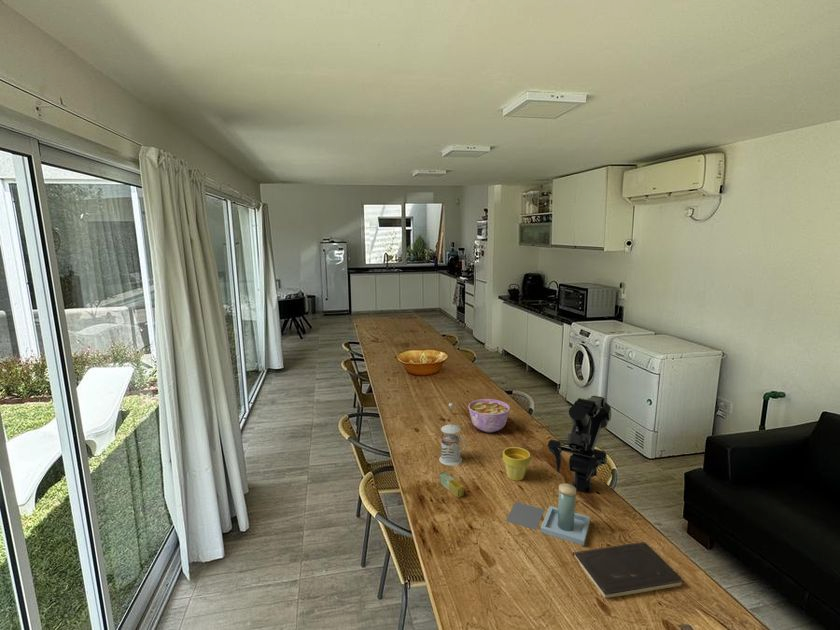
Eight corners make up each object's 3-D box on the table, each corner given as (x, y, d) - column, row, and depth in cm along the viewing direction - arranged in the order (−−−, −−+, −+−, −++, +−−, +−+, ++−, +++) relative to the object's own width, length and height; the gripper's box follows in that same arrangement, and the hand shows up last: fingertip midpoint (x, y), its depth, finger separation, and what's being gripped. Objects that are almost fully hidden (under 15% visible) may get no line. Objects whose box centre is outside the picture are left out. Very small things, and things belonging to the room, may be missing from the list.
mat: (515, 502, 154) (515, 501, 154) (544, 510, 150) (544, 509, 150) (505, 521, 144) (505, 520, 144) (535, 531, 139) (535, 529, 139)
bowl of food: (465, 435, 207) (465, 412, 205) (470, 418, 226) (470, 397, 224) (508, 440, 202) (509, 416, 200) (510, 422, 221) (510, 400, 219)
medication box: (439, 483, 168) (439, 473, 167) (445, 480, 169) (445, 471, 168) (458, 498, 157) (458, 488, 157) (464, 496, 159) (464, 486, 158)
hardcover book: (683, 588, 117) (683, 580, 117) (604, 601, 113) (605, 593, 113) (642, 547, 132) (643, 540, 132) (572, 557, 128) (572, 550, 128)
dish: (549, 511, 149) (549, 505, 149) (589, 522, 143) (590, 516, 143) (540, 533, 138) (540, 527, 138) (583, 546, 132) (584, 540, 132)
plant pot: (529, 471, 175) (530, 448, 173) (528, 485, 165) (529, 461, 163) (503, 467, 178) (504, 445, 176) (501, 481, 168) (501, 457, 166)
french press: (445, 452, 191) (445, 397, 187) (470, 458, 185) (470, 402, 181) (434, 461, 183) (434, 405, 179) (459, 469, 177) (460, 410, 173)
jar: (555, 520, 143) (557, 483, 141) (571, 521, 143) (573, 483, 141) (559, 530, 138) (561, 492, 136) (576, 531, 138) (578, 492, 136)
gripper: (550, 417, 152) (540, 460, 145) (608, 428, 143) (600, 475, 135) (554, 430, 160) (545, 471, 153) (609, 441, 151) (602, 486, 143)
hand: (572, 476), depth 146 cm, fingers open, 9 cm apart
